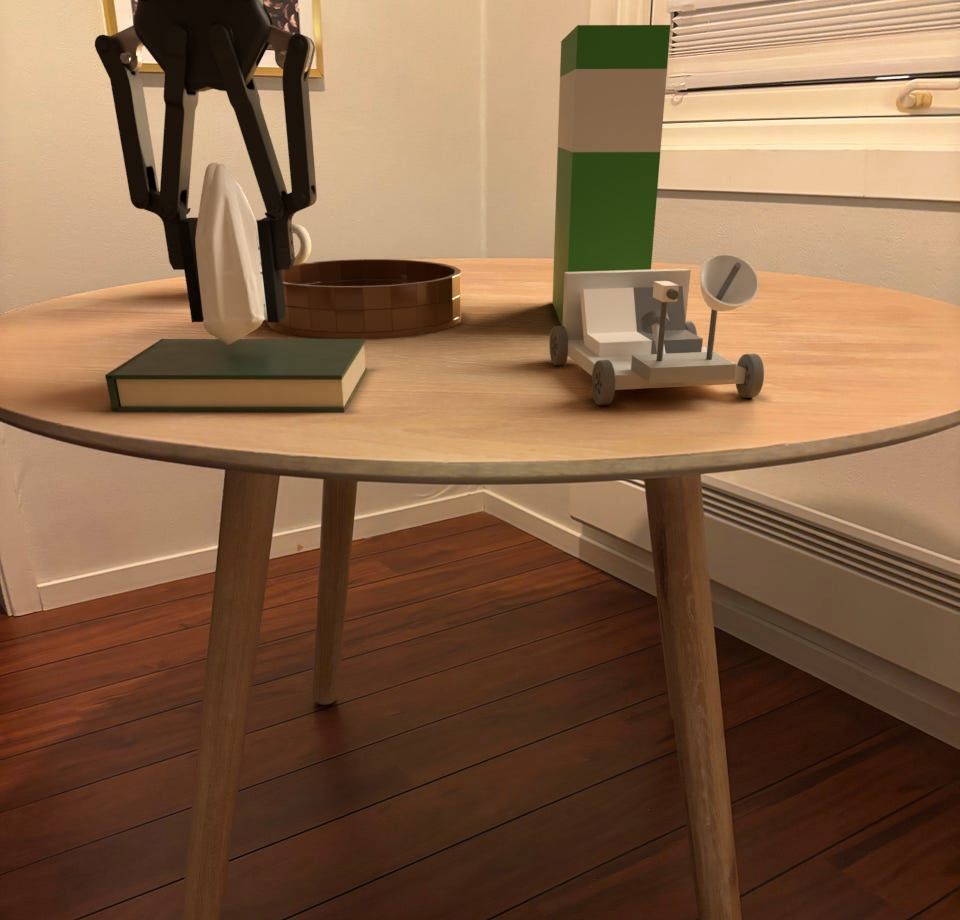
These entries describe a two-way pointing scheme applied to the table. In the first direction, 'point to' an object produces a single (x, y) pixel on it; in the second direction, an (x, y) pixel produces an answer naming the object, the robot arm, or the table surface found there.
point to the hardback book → (608, 148)
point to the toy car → (653, 328)
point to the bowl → (369, 298)
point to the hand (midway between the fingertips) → (239, 317)
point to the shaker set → (228, 258)
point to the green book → (239, 376)
